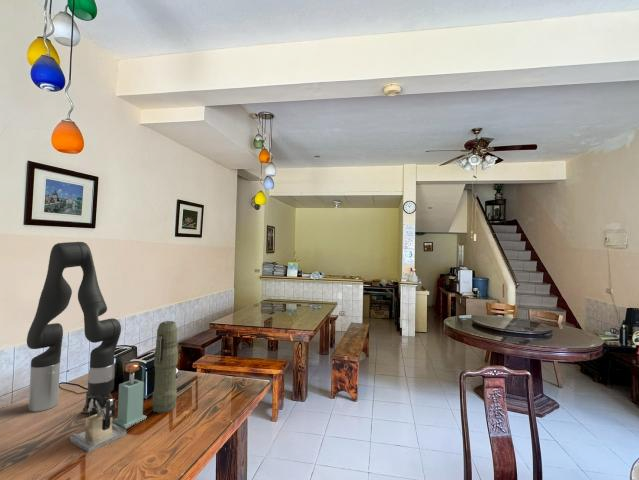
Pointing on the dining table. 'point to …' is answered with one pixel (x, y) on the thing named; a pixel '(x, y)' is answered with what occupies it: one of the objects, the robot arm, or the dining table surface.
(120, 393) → the column
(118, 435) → the grey square tray
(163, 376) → the thermos
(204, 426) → the dining table surface
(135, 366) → the plunger
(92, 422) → the block
